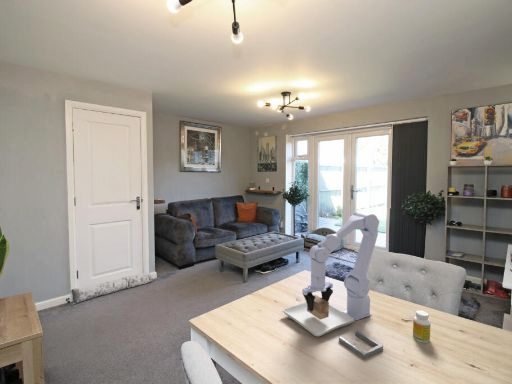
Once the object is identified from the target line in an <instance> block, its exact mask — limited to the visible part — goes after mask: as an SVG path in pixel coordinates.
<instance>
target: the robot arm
mask: <svg viewBox="0 0 512 384" xmlns="http://www.w3.org/2000/svg"><path fill="white" fill-rule="evenodd" d="M379 225H380V220H379V219H378V217H377V215H376V214H373V213H367V212H363V211H355V212H354V213H353V214H352V215H351V216H349V218H348V220H347V221H346V222H345V223H344V224H343V225H341V227H340V228H339V229H337V231H336V232H335V233H329V234H326V235H325V238H324V239H323V240H321V241H320V242H318V243H317V244H316V245H312V247H311V248H310V249H309V251H308V252H307V253H308V254H307V255H308V256H309V258H310V285H308V286H306V287H304V288H302V295H303V297H304V300H305V302H307V306H308V310H310V311H313V303H314V299H315V296H313V295H314V294H313V293H317V292H320V293H321V298H322V299H324V300H326V301H327V302H329V301H330V298H331V297H332V294H333V292H334V291H333V288H334V287H333V284H334V283H332V282H330V281H327V282H326V263H327V261H328V259H329V257H330V255H331V253H332V252H333V251H335V250H336V249H337V248H339V246H340V245H341V242H342V241H341V240H343V239H345V238H346V237H347V236H348V235H349V234H351V233H352V232H353V231H355V230H359V231H360V232H361V234H362V237H361V242H360V245H359V249H358V253H357V256H356V259H355V262H354V266H353V269H352V270H350V271H349V272H348V273H347V276H346V277H345V278H344V280H343V286H344V287H345V289H346V292H347V293H346V309H344V310H342V311H341V312H343V313H345V314H347V315H349V316H350V317H352V318H354V321H359V320H361V319H363V318H366V317H369V316H372V313H371V297H370V295H369V293H370V282H371V281H370V279H369V277H368V270H369V267H370V263H371V260H372V256H373V253H374V249H375V245H376V243H377V239H378V234H379V231H378V230H379V229H378V228H379Z"/></svg>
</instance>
